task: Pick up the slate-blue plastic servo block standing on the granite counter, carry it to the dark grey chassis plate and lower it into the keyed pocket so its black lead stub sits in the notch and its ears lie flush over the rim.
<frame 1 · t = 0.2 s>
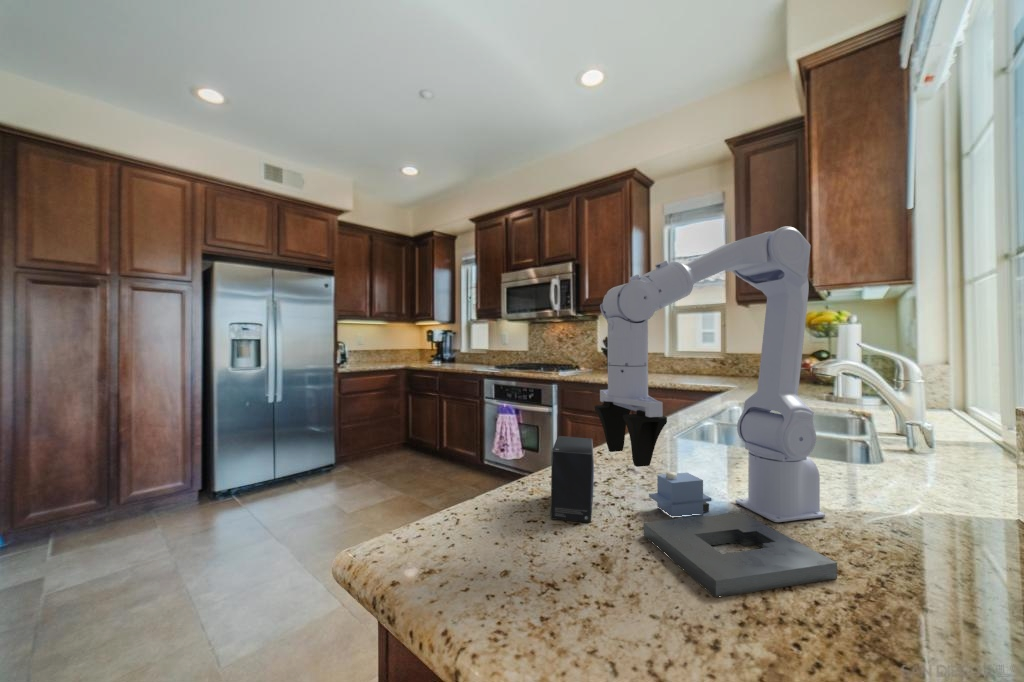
hand: (628, 457, 59), 10 cm above the countertop, tool pointing down, fingers open, 7 cm apart
chassis: (730, 554, 51), on the countertop
servo: (679, 511, 64), on the countertop
small box: (573, 509, 65), on the countertop
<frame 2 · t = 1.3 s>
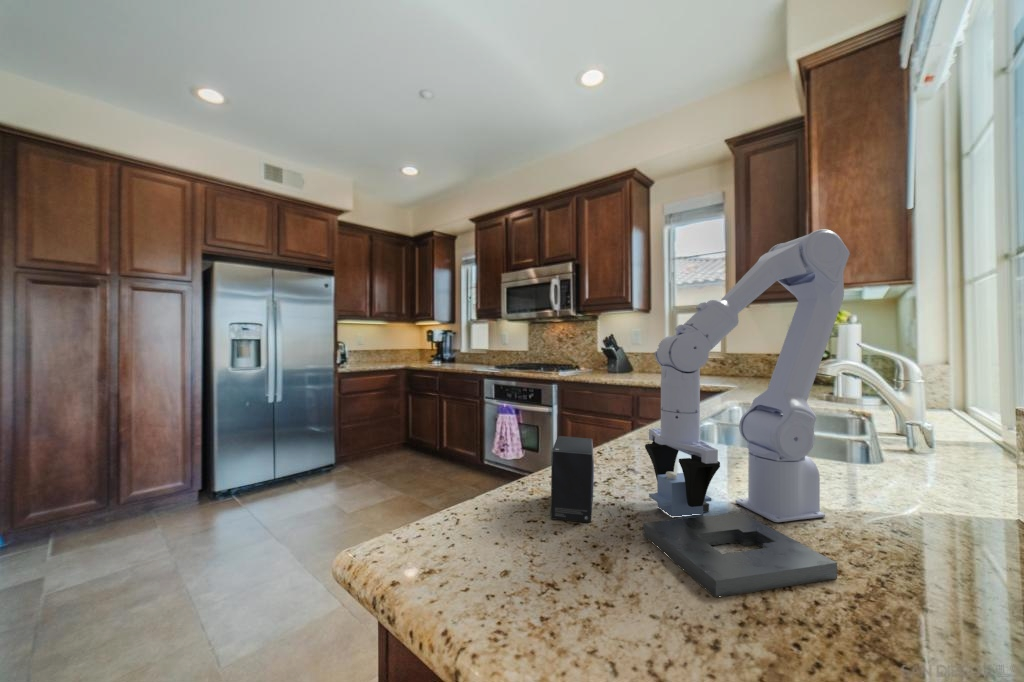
hand: (679, 496, 64), 2 cm above the countertop, tool pointing down, fingers open, 7 cm apart
nothing on the countertop moved.
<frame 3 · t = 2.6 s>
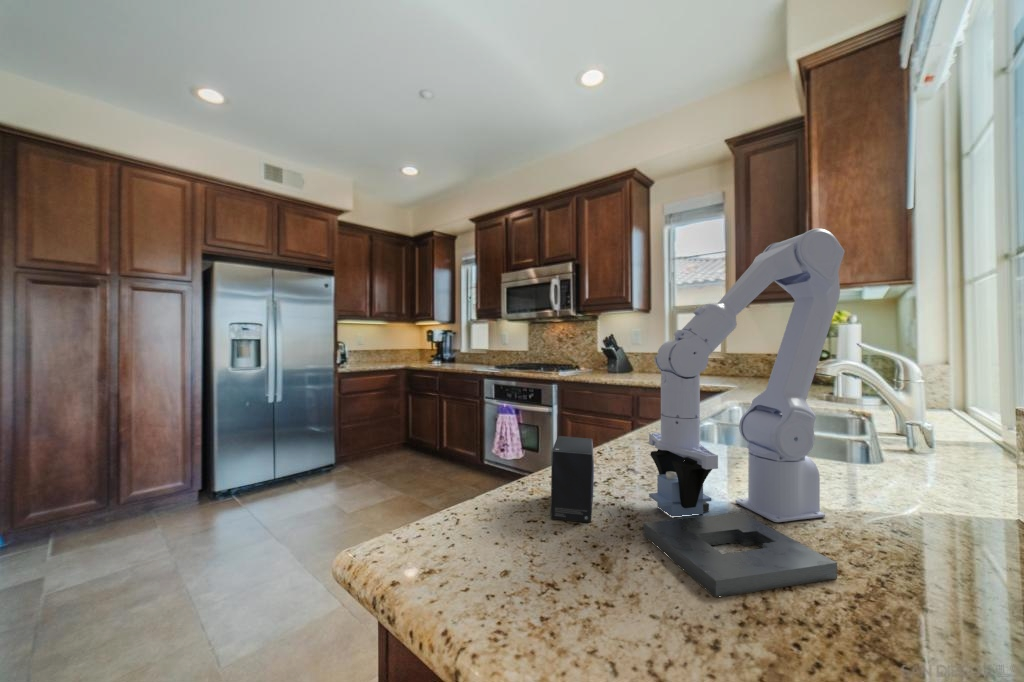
hand: (679, 501, 64), 2 cm above the countertop, tool pointing down, fingers closed on servo, 4 cm apart
servo: (679, 511, 64), on the countertop, touching gripper
everything else where it was.
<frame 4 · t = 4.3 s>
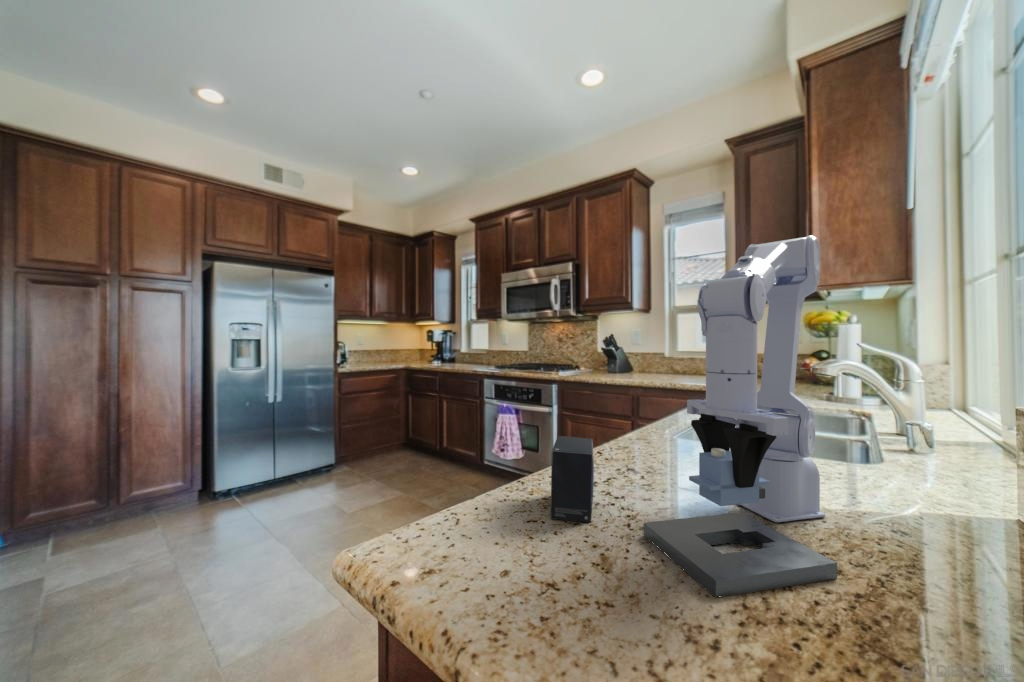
hand: (730, 480, 51), 9 cm above the countertop, tool pointing down, fingers closed on servo, 4 cm apart
servo: (728, 498, 51), point 7 cm above the countertop, touching gripper
everything else where it was.
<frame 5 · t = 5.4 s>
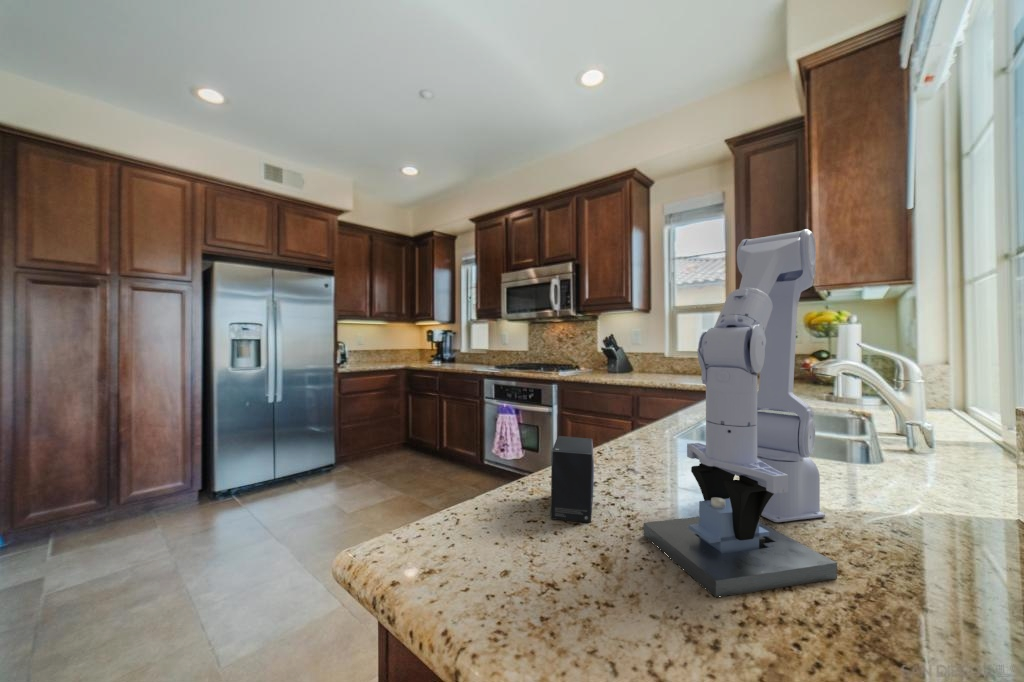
hand: (730, 530, 51), 3 cm above the countertop, tool pointing down, fingers closed on servo, 4 cm apart
servo: (728, 548, 51), point 1 cm above the countertop, touching gripper
everything else where it was.
when the fingers open (3 cm above the countertop, at t = 6.3 s): servo stays where it is, resting in chassis.
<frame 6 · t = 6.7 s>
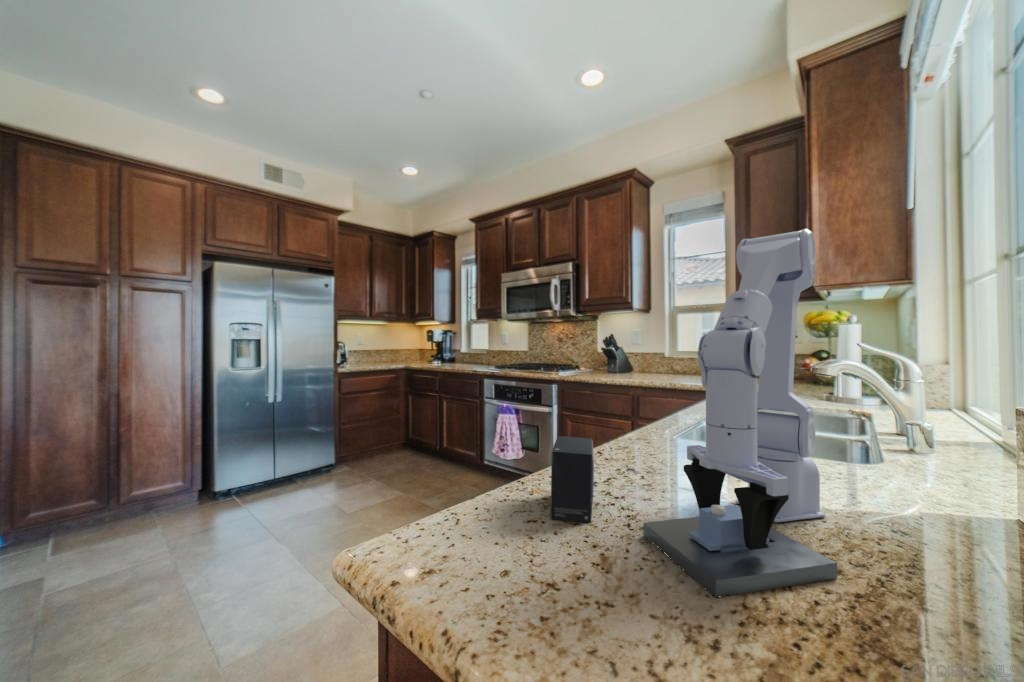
hand: (730, 532, 51), 3 cm above the countertop, tool pointing down, fingers open, 7 cm apart
servo: (728, 555, 51), resting in chassis
everything else where it was.
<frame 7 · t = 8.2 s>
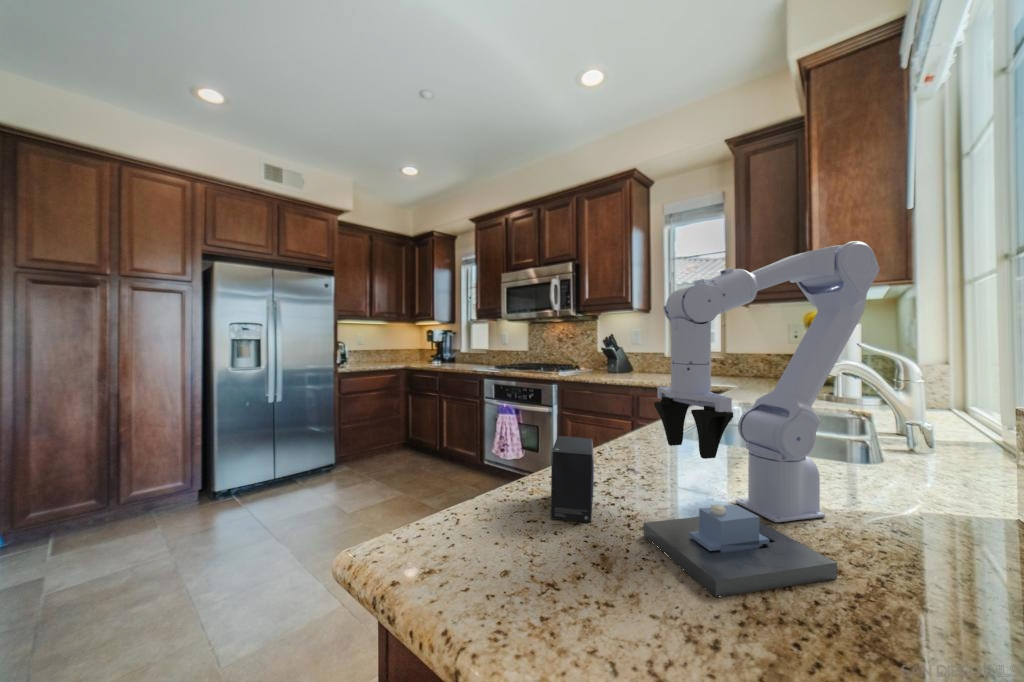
hand: (690, 450, 63), 10 cm above the countertop, tool pointing down, fingers open, 7 cm apart
nothing on the countertop moved.
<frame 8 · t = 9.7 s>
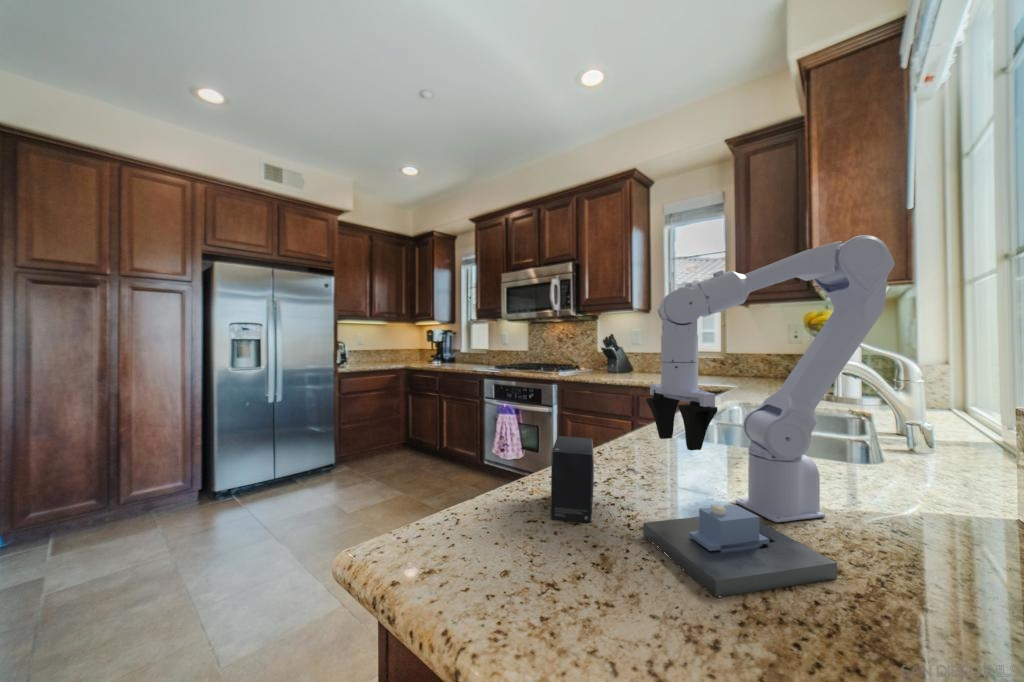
hand: (679, 443, 67), 10 cm above the countertop, tool pointing down, fingers open, 7 cm apart
nothing on the countertop moved.
at the end: servo 0.3 cm off-centre on the chassis, point 0.0 cm above the chassis's base; servo tilted 0°; the gripper is holding nothing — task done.
